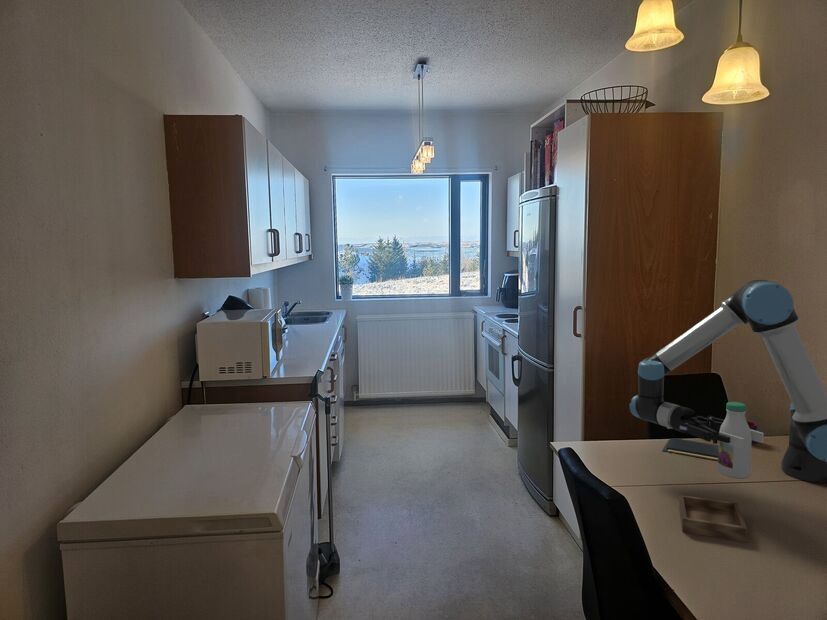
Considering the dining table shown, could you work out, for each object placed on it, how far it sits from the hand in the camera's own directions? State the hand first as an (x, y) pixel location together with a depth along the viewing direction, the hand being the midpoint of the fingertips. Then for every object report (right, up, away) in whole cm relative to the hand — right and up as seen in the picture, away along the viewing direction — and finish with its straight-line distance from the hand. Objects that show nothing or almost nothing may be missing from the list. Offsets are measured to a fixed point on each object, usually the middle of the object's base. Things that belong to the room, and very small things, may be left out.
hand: (753, 440), depth 137 cm
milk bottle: (-2, -11, +6) cm, 12 cm away
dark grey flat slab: (+10, -16, +46) cm, 50 cm away
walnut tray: (-13, -21, -2) cm, 25 cm away
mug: (+31, -14, +53) cm, 63 cm away
